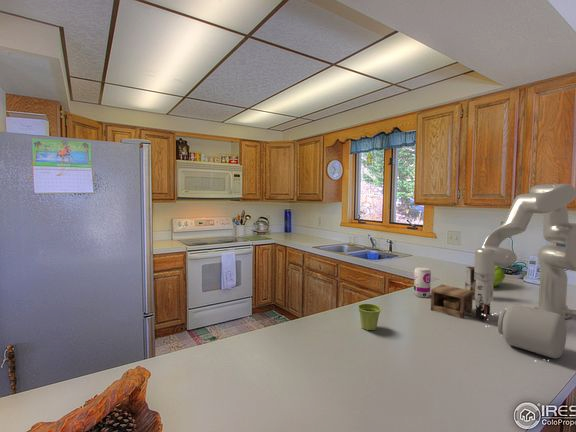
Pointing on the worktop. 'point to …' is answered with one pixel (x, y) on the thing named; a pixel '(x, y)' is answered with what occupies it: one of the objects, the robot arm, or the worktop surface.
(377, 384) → the worktop surface
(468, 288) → the coffee box
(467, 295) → the open wooden crate
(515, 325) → the jar
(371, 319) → the plant pot
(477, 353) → the worktop surface
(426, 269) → the supplement can
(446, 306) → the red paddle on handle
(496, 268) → the lettuce
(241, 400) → the worktop surface
